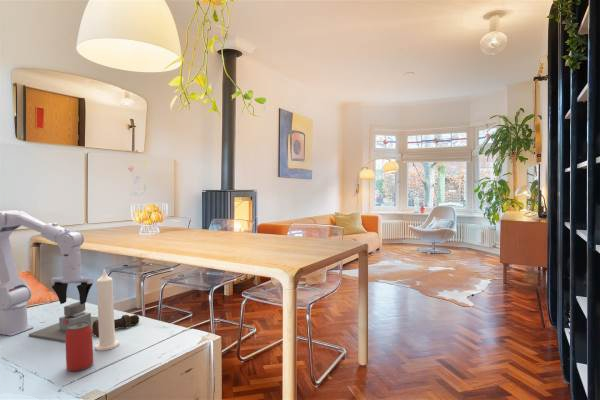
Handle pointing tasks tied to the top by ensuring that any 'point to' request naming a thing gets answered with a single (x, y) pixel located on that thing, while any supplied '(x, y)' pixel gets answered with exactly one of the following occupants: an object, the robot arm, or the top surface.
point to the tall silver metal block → (74, 310)
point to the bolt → (118, 323)
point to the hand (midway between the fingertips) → (73, 303)
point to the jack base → (62, 327)
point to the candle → (106, 313)
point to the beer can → (79, 346)
